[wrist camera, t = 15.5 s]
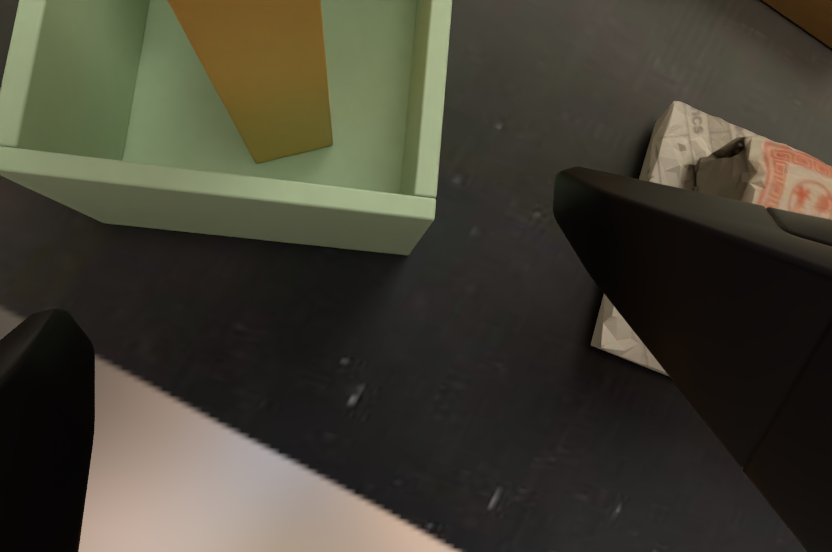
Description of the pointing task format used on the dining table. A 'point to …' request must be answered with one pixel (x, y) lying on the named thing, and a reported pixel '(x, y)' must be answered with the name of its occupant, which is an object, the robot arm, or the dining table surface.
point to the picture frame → (808, 16)
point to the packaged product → (718, 189)
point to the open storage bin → (225, 125)
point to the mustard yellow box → (265, 69)
